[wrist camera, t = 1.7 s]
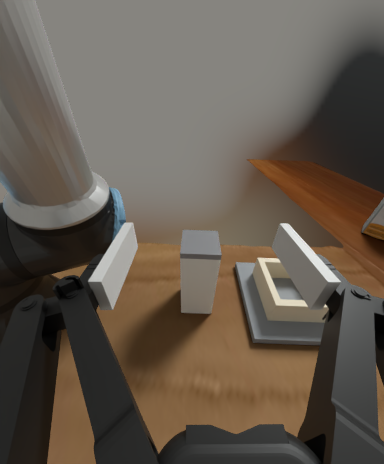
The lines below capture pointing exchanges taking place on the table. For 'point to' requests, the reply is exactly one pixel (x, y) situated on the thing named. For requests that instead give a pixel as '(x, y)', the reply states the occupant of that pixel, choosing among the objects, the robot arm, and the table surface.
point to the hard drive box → (375, 223)
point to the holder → (277, 305)
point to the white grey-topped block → (199, 270)
